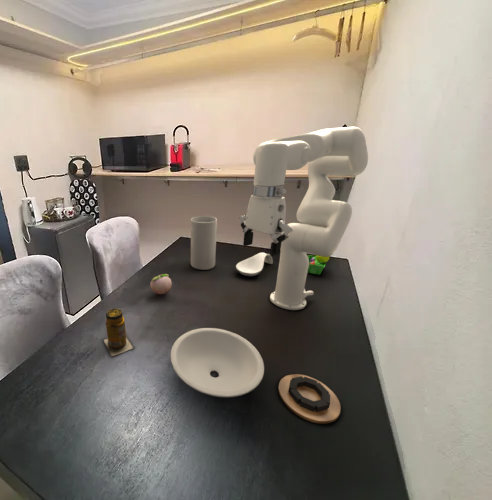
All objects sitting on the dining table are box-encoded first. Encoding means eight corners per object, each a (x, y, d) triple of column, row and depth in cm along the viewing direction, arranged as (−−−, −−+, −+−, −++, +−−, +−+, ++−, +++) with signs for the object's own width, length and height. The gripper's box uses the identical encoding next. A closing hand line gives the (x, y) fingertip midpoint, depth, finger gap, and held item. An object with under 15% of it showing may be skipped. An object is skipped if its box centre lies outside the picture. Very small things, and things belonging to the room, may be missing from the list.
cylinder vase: (217, 269, 132) (220, 222, 123) (192, 271, 133) (193, 223, 123) (211, 259, 144) (213, 215, 135) (188, 261, 144) (189, 216, 135)
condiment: (123, 333, 92) (120, 304, 87) (133, 348, 84) (130, 317, 80) (103, 340, 89) (99, 310, 84) (112, 357, 82) (107, 325, 77)
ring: (310, 378, 69) (311, 373, 69) (337, 407, 61) (339, 402, 61) (281, 384, 68) (282, 380, 67) (306, 415, 60) (307, 410, 60)
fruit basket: (306, 264, 132) (310, 243, 128) (327, 267, 127) (332, 246, 123) (303, 273, 124) (307, 250, 120) (326, 277, 119) (331, 254, 115)
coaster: (310, 372, 72) (310, 369, 72) (354, 416, 60) (355, 414, 60) (267, 381, 70) (267, 379, 70) (304, 429, 58) (304, 427, 58)
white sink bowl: (251, 435, 58) (254, 414, 55) (155, 389, 70) (154, 370, 67) (268, 361, 76) (270, 343, 74) (190, 335, 88) (190, 319, 86)
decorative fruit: (161, 302, 108) (160, 281, 104) (147, 295, 114) (146, 274, 110) (176, 293, 114) (176, 273, 110) (162, 287, 120) (162, 267, 116)
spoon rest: (252, 282, 119) (254, 267, 116) (230, 273, 128) (231, 260, 125) (279, 266, 132) (281, 253, 129) (257, 259, 141) (258, 247, 138)
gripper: (307, 193, 66) (295, 256, 72) (252, 186, 80) (247, 239, 86) (286, 197, 63) (276, 262, 69) (233, 189, 77) (229, 243, 84)
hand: (260, 249), depth 78 cm, fingers open, 9 cm apart
